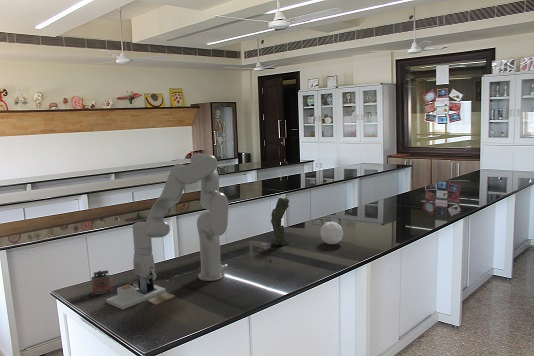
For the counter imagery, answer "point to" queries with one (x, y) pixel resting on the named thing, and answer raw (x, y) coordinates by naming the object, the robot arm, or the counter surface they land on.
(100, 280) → the lighter
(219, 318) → the counter surface
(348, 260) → the counter surface
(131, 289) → the dock
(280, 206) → the mechanical leg
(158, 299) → the pad
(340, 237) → the geodesic sphere
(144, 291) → the cylinder
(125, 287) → the brown egg
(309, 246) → the counter surface
